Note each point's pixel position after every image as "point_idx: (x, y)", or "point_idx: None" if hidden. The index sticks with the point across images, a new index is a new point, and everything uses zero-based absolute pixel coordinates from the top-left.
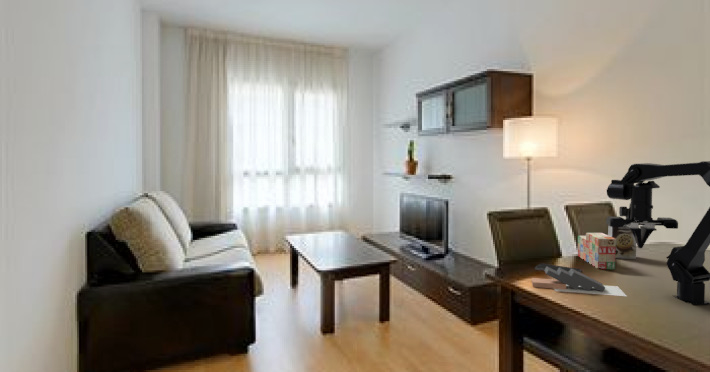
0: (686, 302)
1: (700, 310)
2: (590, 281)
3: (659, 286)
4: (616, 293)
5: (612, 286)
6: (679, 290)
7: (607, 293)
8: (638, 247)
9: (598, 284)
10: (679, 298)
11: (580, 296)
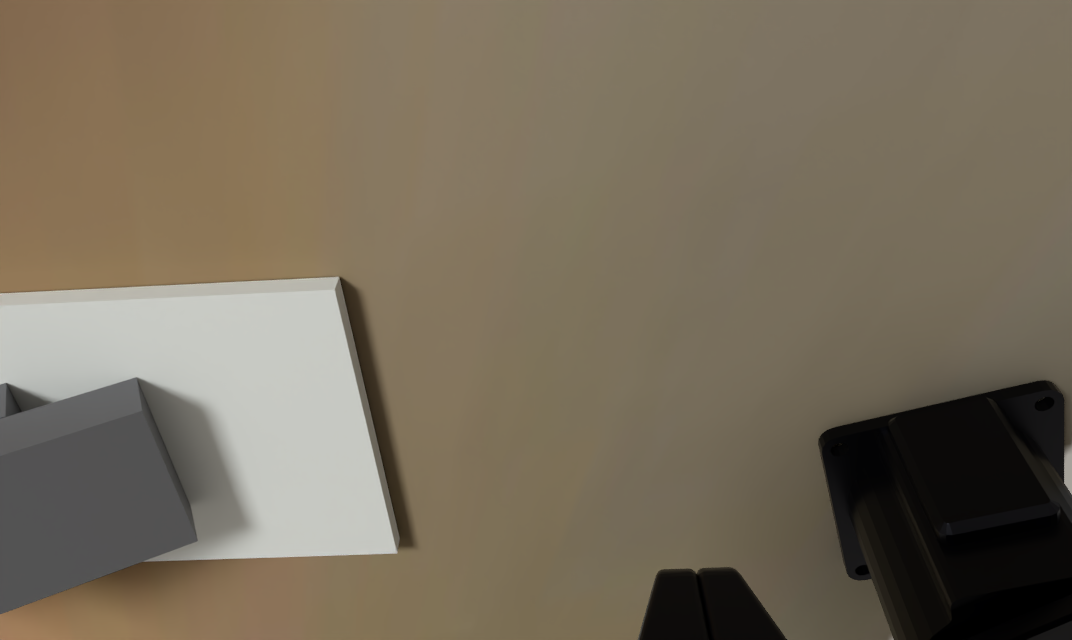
0: (851, 573)
1: (877, 635)
2: (29, 594)
3: (906, 31)
4: (311, 511)
5: (277, 312)
6: (873, 566)
7: (233, 530)
8: (655, 596)
9: (120, 568)
10: (848, 505)
11: None
